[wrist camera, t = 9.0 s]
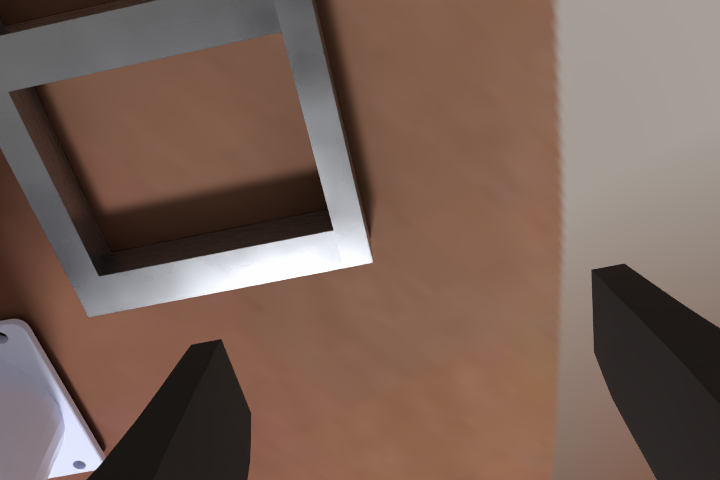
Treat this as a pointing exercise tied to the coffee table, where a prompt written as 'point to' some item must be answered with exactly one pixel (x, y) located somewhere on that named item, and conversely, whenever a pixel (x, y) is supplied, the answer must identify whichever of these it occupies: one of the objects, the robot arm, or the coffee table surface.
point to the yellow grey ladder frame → (197, 253)
